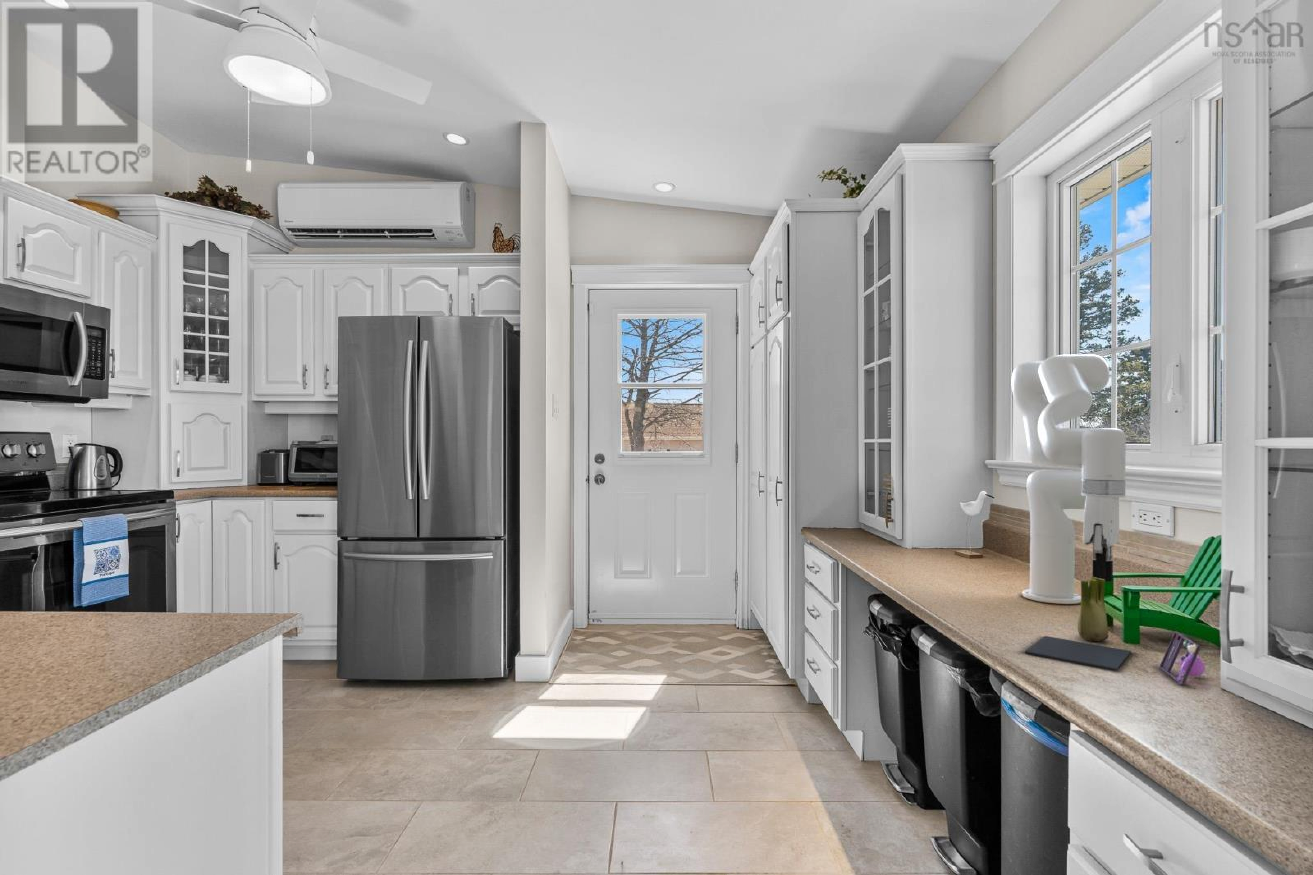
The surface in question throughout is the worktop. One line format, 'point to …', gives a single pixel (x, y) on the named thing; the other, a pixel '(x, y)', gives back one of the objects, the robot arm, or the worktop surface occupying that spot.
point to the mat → (1079, 652)
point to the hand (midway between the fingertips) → (1102, 580)
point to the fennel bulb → (1093, 611)
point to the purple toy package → (1183, 658)
